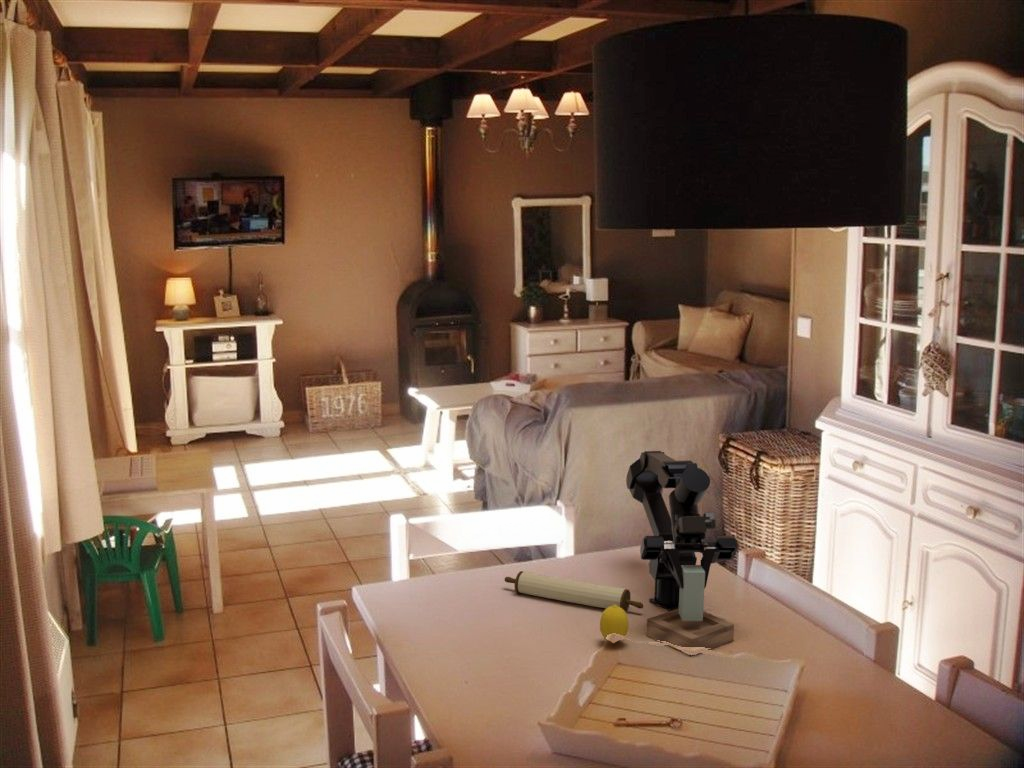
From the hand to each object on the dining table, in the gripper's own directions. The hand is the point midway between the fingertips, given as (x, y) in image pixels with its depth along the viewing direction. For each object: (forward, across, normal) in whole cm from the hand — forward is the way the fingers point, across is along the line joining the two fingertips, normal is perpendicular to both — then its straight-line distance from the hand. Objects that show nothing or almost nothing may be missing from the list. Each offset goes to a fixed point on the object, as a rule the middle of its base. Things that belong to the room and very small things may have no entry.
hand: (693, 587), depth 202 cm
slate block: (+4, 0, +6) cm, 7 cm away
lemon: (+9, -15, +7) cm, 19 cm away
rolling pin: (-6, -22, +23) cm, 32 cm away
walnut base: (+7, 0, +9) cm, 11 cm away
